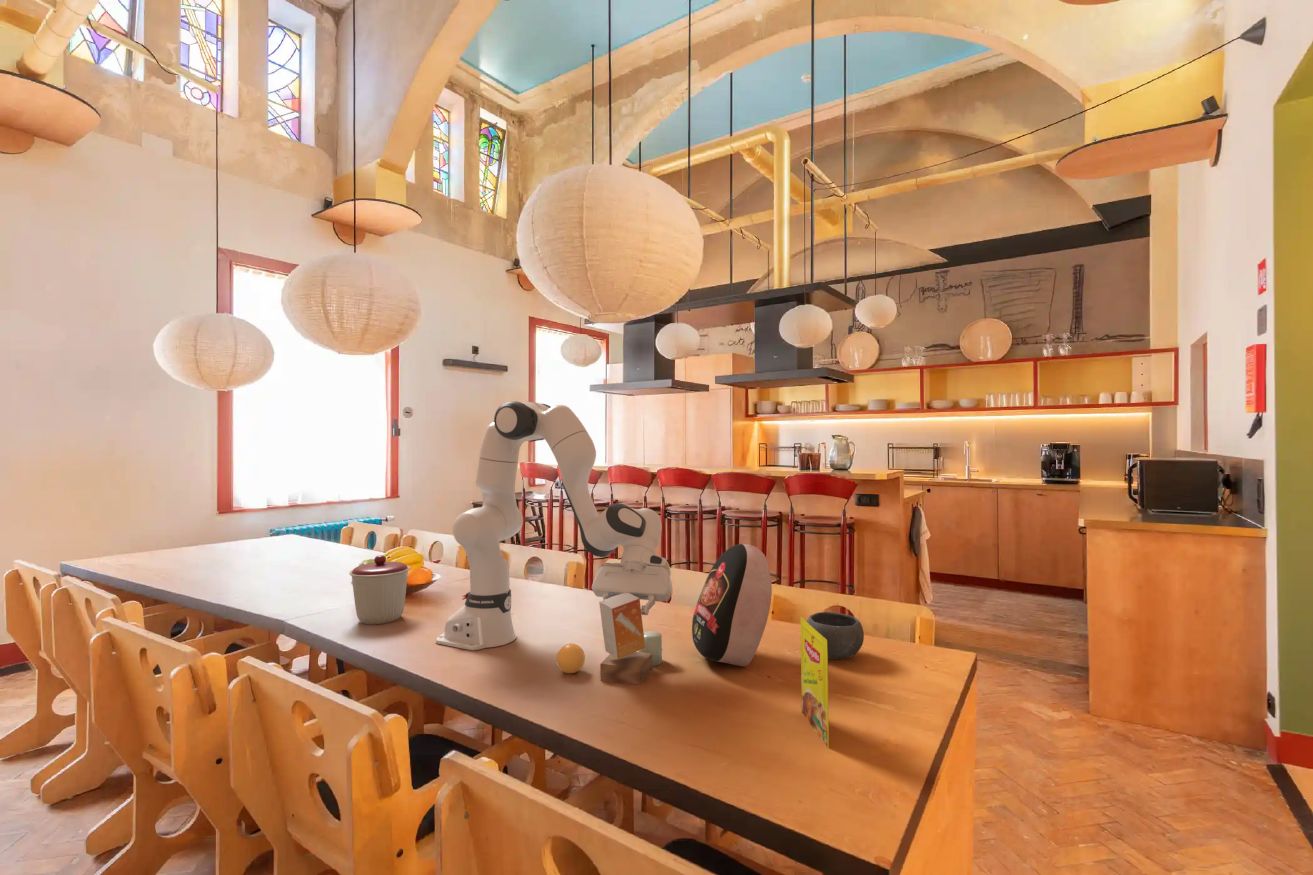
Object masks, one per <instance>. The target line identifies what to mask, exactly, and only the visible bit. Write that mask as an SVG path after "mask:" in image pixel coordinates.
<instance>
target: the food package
mask: <svg viewBox="0 0 1313 875" xmlns="http://www.w3.org/2000/svg"><path fill="white" fill-rule="evenodd" d="M828 663H829V658H828V650H827V640H826V639H825V638H824V637H823V636H822V635H821V634H820V633H818V632H817V631H816V630H815V629H814V628H813V627H812V626H811V625H809V624H808V623H807V620H806V619H804V618H803V617H802V616H800V667H801V668H800V671H801V674H800V675H801V677H800V679H801V681H800V682H801V684H800V685H801V713H802V714H803V716H804V717H805V719H806V721H807V722H808V723H809V724H810V725H811V727H812V729H813V730H814V732H815V733H816V734H817V735H818V737H819V738H820V739H821V741H822V742H823V743H824V744H825V746H826V747H827V749H829V748H830V747H829V746H830V745H829V743H830V742H829V740H830V736H829V735H830V733H829V732H830V730H829V728H830V727H829V723H830V722H829V675H828V674H829V670H828V667H829V664H828Z"/></svg>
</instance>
